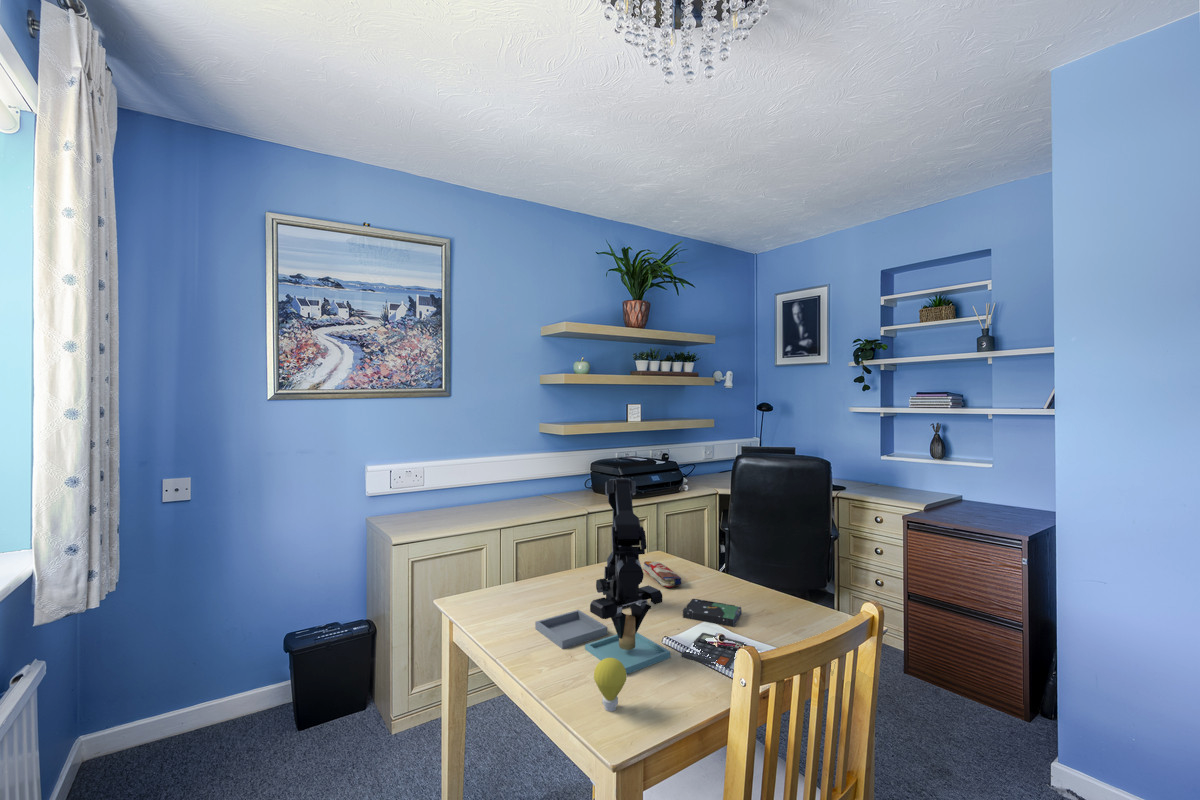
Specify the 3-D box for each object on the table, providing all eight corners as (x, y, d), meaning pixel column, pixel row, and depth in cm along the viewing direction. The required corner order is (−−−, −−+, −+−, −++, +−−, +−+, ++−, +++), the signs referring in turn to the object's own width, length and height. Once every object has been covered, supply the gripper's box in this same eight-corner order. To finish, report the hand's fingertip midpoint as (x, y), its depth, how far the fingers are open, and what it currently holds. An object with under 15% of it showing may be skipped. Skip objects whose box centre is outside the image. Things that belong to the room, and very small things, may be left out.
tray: (631, 635, 144) (631, 629, 144) (670, 657, 132) (670, 651, 132) (585, 650, 136) (585, 644, 136) (621, 676, 123) (621, 669, 123)
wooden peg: (628, 640, 137) (628, 613, 136) (638, 646, 133) (638, 618, 133) (615, 645, 134) (615, 616, 134) (625, 651, 131) (625, 622, 131)
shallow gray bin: (578, 617, 155) (578, 609, 155) (607, 635, 144) (607, 627, 144) (535, 630, 147) (535, 621, 147) (562, 650, 136) (562, 640, 136)
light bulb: (592, 699, 114) (592, 652, 114) (624, 698, 115) (624, 650, 114) (595, 718, 107) (595, 668, 107) (628, 716, 108) (628, 667, 108)
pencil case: (671, 571, 197) (671, 557, 197) (684, 590, 177) (684, 575, 177) (641, 571, 196) (641, 558, 196) (650, 591, 176) (650, 576, 176)
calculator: (680, 654, 132) (702, 631, 145) (680, 658, 132) (702, 635, 145) (727, 667, 126) (745, 642, 139) (727, 671, 126) (745, 645, 139)
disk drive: (682, 620, 155) (734, 629, 149) (682, 610, 155) (734, 618, 149) (692, 607, 165) (741, 614, 158) (692, 597, 165) (741, 605, 158)
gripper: (635, 558, 146) (635, 615, 146) (577, 571, 135) (577, 633, 135) (664, 569, 136) (663, 630, 137) (603, 584, 126) (603, 651, 126)
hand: (627, 635), depth 134 cm, fingers closed on wooden peg, 4 cm apart
